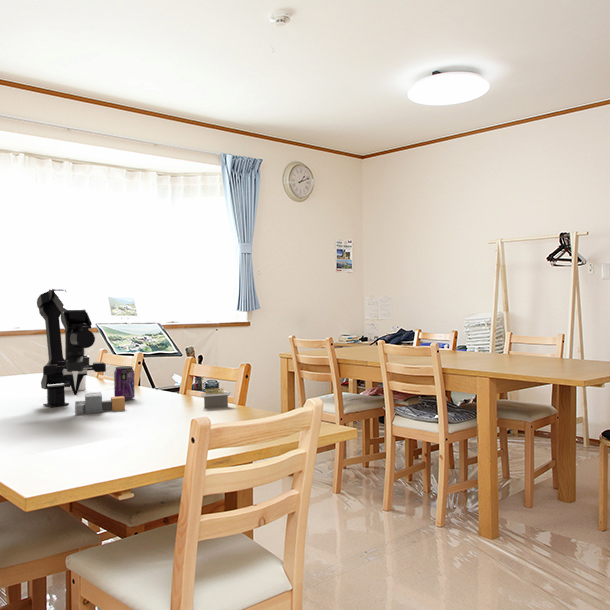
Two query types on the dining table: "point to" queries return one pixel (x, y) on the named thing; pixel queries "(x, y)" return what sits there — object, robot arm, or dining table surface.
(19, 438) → the dining table surface
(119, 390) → the beverage can
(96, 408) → the housing
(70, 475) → the dining table surface
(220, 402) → the platform
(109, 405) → the plug
